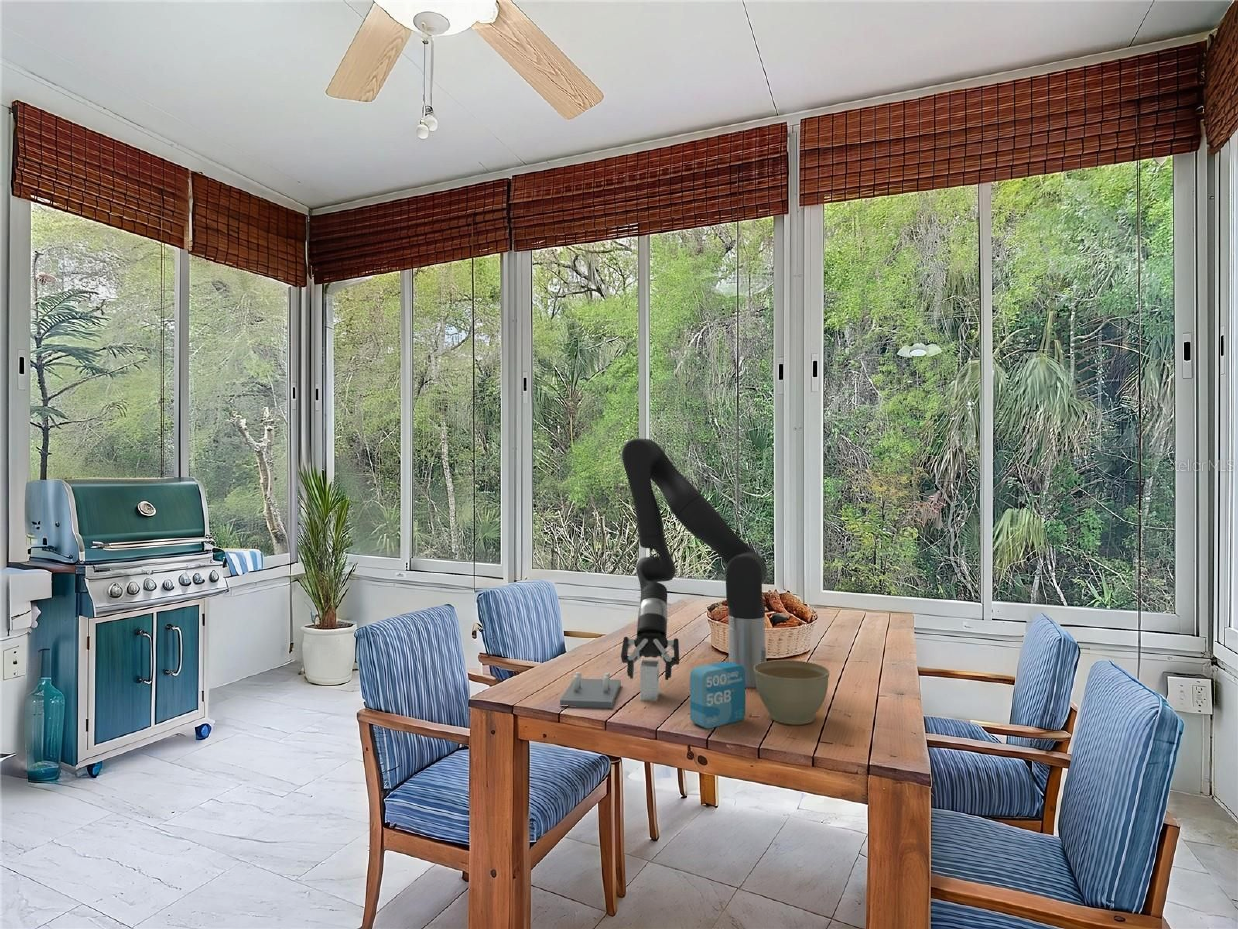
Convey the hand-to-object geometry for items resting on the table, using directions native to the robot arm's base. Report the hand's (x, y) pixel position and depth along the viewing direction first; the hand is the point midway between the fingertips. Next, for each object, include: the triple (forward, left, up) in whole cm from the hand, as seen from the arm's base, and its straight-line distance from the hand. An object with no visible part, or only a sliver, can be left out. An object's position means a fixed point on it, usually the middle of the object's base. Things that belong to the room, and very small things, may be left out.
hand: (648, 677), depth 169 cm
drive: (0, -1, -5) cm, 5 cm away
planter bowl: (-32, +11, -5) cm, 34 cm away
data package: (-16, +15, -5) cm, 22 cm away
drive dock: (+14, 0, -5) cm, 15 cm away
